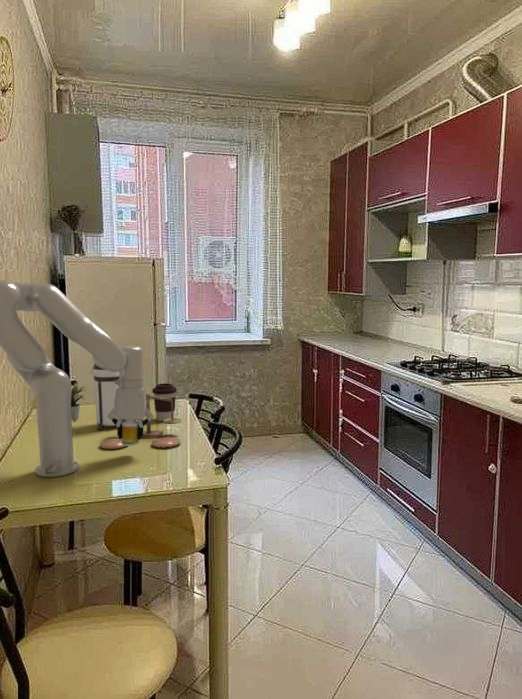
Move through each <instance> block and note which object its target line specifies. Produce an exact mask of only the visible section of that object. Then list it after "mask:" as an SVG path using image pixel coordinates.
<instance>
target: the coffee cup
mask: <svg viewBox="0 0 522 699" xmlns="http://www.w3.org/2000/svg"><path fill="white" fill-rule="evenodd" d="M151 390H152V394H153V396H155V397H162V398H168V399H172V404H173V418H175V410H176V393H177V387H175V386H174V385H173V384H172V383H168V382H165V383H158V384H156V385H155V387H153V388H152V389H151ZM153 401H154V410H155V416H156V417H155V418H156V421H158V422H161V421H163V420H165V419H169V418H172V416H171V402H170V401H164V400H157V399H153Z"/></svg>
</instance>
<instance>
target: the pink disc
mask: <svg viewBox="0 0 522 699" xmlns="http://www.w3.org/2000/svg"><path fill="white" fill-rule="evenodd" d="M99 447H100V448H102V449H106V450H107V449H108V450H117V449H122V448H125V447H126V446H125V445H123V444H122V439H119V437H117V438H109V439H104V440H102V441H101V442H100V443H99Z"/></svg>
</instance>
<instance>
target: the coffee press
mask: <svg viewBox="0 0 522 699" xmlns="http://www.w3.org/2000/svg"><path fill="white" fill-rule="evenodd" d="M89 374H91V375H92V374H93V380H94V396H95V416H96V418H95V419H96V424H97V425H98V424H99V425H98V427H97V431H104V429H105V427H113V426H115V427H116V425H115V424H114V423H113V422H112V420H110V419H109V418H108V417H107V415H108V414H109V413H110V412H111V411H112V410H113V409H114V401H115V393H116V389H117V388H119V386H118V385H117V384H115V380H119V371H118V372H110V371H107V370H105V369H102V368H100V367H98V366H97V365H96V364H95V363H94V364H93V365H92V368H91V369H90V371H89ZM113 416H114V414H113ZM117 420H118V419H117ZM124 421H125V420H124V419H123V422H124ZM123 422H122V423H123Z"/></svg>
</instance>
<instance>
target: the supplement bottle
mask: <svg viewBox="0 0 522 699" xmlns="http://www.w3.org/2000/svg"><path fill="white" fill-rule="evenodd" d="M124 420H125V421H124V422H123V423H122V444H123V445H125V447H126V446H127V447H133V446H137V445H139V441H140V440H138V427H139V423H138V420H126V419H124Z"/></svg>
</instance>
